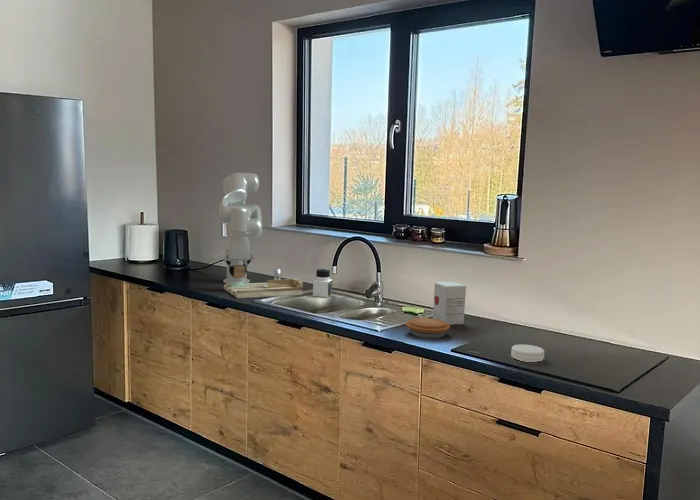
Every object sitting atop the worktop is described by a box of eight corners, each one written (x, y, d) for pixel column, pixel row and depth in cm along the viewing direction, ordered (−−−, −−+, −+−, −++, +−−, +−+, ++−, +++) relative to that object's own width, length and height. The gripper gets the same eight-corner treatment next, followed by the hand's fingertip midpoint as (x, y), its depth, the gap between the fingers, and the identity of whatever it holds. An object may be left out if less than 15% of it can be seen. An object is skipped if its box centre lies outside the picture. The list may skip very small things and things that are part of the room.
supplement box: (431, 320, 241) (433, 281, 239) (451, 318, 244) (454, 281, 242) (443, 325, 232) (446, 286, 230) (464, 324, 236) (466, 285, 234)
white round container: (506, 354, 198) (507, 343, 198) (536, 354, 199) (537, 344, 199) (517, 363, 188) (518, 352, 188) (549, 364, 189) (550, 353, 189)
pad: (228, 284, 285) (228, 283, 285) (242, 284, 288) (242, 282, 288) (232, 287, 279) (232, 285, 279) (247, 287, 282) (247, 285, 282)
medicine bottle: (328, 297, 275) (329, 270, 274) (312, 296, 277) (313, 269, 275) (331, 294, 282) (332, 268, 281) (316, 293, 284) (317, 267, 282)
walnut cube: (231, 276, 283) (231, 265, 282) (241, 275, 285) (242, 265, 285) (234, 277, 279) (234, 266, 278) (245, 277, 281) (245, 266, 280)
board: (223, 288, 286) (224, 276, 285) (285, 285, 299) (285, 274, 298) (237, 298, 266) (237, 285, 266) (302, 294, 280) (302, 282, 279)
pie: (450, 331, 224) (451, 317, 224) (447, 342, 209) (448, 327, 209) (408, 327, 228) (409, 314, 227) (402, 337, 213) (403, 323, 212)
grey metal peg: (273, 283, 292) (273, 269, 292) (279, 283, 294) (279, 268, 293) (275, 284, 290) (275, 270, 289) (281, 284, 291) (281, 269, 290)
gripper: (254, 233, 287) (253, 272, 289) (217, 234, 280) (217, 274, 282) (259, 235, 281) (258, 275, 283) (222, 235, 273) (221, 276, 275)
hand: (237, 274), depth 282 cm, fingers closed on walnut cube, 5 cm apart
